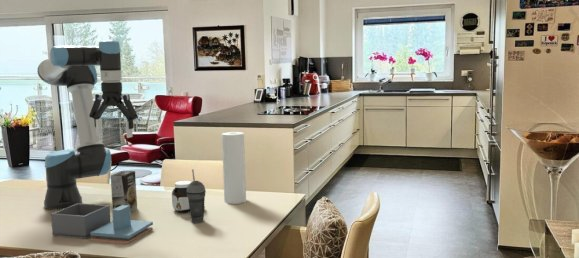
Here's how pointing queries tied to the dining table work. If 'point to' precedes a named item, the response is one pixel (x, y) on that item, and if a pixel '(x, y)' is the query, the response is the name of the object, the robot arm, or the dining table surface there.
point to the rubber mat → (121, 239)
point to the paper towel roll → (234, 167)
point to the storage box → (79, 220)
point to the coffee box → (124, 189)
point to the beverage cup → (196, 200)
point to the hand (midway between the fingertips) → (114, 136)
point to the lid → (121, 225)
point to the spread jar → (181, 197)
